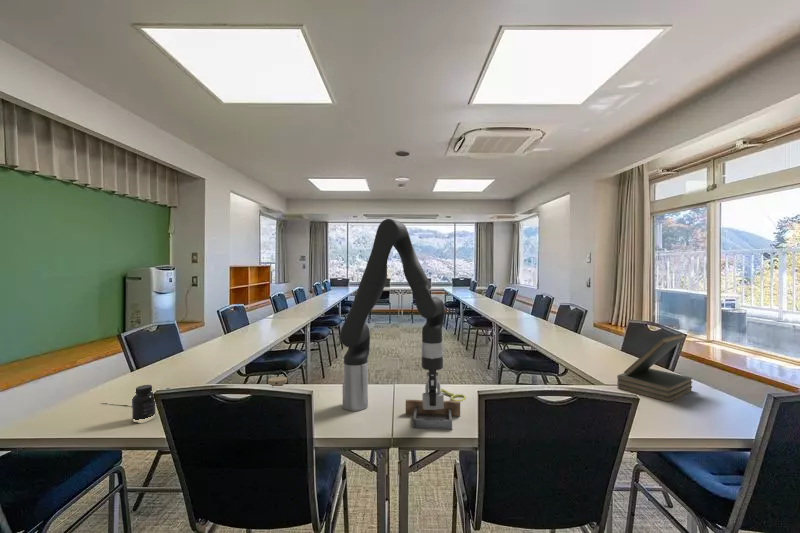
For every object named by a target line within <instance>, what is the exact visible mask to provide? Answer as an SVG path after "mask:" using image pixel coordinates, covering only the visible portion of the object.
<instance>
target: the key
mask: <svg viewBox="0 0 800 533" xmlns="http://www.w3.org/2000/svg"><path fill="white" fill-rule="evenodd" d="M440 392H442V393H444V394H446V395H447V396H449V397H450V400H449V401H460V402H464V401H465V400H466V399H467V398H466V397H467V396H466V395H464V394H461V393H459V394H455V393H454V392H453V393H452V392H450V391H448V390H447V389H445V388H440ZM463 397H464V398H463ZM455 398H461V399H455ZM463 400H464V401H463Z"/></svg>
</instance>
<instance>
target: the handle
mask: <svg viewBox="0 0 800 533" xmlns="http://www.w3.org/2000/svg"><path fill="white" fill-rule="evenodd" d="M267 383H268V385H270V386H272V387H273V386H283V387H284V385H285V384H287V383H288V377H286V376H274V377H269V378H268V380H267Z"/></svg>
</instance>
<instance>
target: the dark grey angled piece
mask: <svg viewBox="0 0 800 533" xmlns="http://www.w3.org/2000/svg"><path fill="white" fill-rule="evenodd" d="M685 338H687V336H686V335H685V334H684V333H678V334H674V335H670V336H666V337H661V338H660V340H658V341H657V342H656V343H655V344H654V345H653V346H651V347H650V349H648V350H647V351H646V352H645V353H644V354H642V355H641V356H640V357H639V358H638V359H637V360H636V361H634V362H633V364H631V365H630V366H629V367H628V368H627V369H625V370H624V371H623V372H622V373H620V374H617V389H619V390H623V391H627V392H631V393H634V394H638V395H642V396H645V397H649V398H652V399H656V400H660V401H664V402H666V403H671V402H672V401H673V400H676V399H678V398H680V397H683V396H684V395H686V394H688V393H689V394H690V393H691V392H692V388H693V386H692V384H693V381H692V379H693V377H692V376H691V377H690V376H687V375H682V374H677V373H674V372H669V371H664V370H659V369H654V368H651V367H652V366H654V365H655V364H656V363H657V362H658V361H659V360H661V359H662V358H664V357H665V355H667V353H669V352H670V351H671V350H673V349H674V348H675V347H676V346H677V345H678V344H680V343H681V342H682V341H683V340H684V339H685Z"/></svg>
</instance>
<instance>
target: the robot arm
mask: <svg viewBox="0 0 800 533" xmlns="http://www.w3.org/2000/svg"><path fill="white" fill-rule="evenodd" d="M393 248H394V249H395V250H396V252H397V253H398V255H399V258H400V260H401V263H402V270H403V274H404V277H405V279H406V281H407V283H408V286H409V288H410V289H411V292H412V295H413V299H414V303H415V306H416V309H417V311H418V313H419V315H420V316H422V318H424V319H426V321H425V324H424V325H423V326H422V330H421V368H422V369H423V370H426V371H427V372H426V379H427V381H428V388H429V397H430V406H436V394H437V393H436V392H437V387H438V384H437V381H439V380H438V379H439V372H438V371H440V370H442V369H443V368H444V346H443V332H442V331H443V326H444V320H445V314H446V307H445V304H444V302H443V300H442V299H441V298H439V297H436V296H434V297H432V294H431V292H430V290H431V288H432V285H431V282H430V281H429V279H428V276H427V275H426V273H425V271H424V269H423V267H422V265H421V263H420V261H419V259H418V256H417V253H416V252H415V248H414V246H413V243H412V240H411V237H410V234H409V231H408V228H407V227H406V225H405V224H404V223H403V222H401V221H398V220H396V219H393V218H392V219H391V218H386V219H383V220H382V221H381V222H380V223H379V225H378V226H377V229H376V233H375V237H374V241H373V244H372V247H371V252H370V255H369V257H368V260H367V264H366V267H365V269H364V272H363V274H362V277H361V279H360V282H359V284H358V288H357V291H356V293H355V296H354V299H353V302H352V305H351V308H350V309H349V313H348V314H347V317H346V318H345V320H344V322H343V325H342V327H341V329H340V333H339V338H340V341H341V343H342V345H343V346H344V347H347V351H346V353H345V354H344V356H343V383H342V409H345V410H347V411H352V412H354V411H355V412H356V411H362V410H365V409H367V408H368V406H369V398H368V397H369V389H368V388H369V383H368V381H369V378H368V375H369V374H368V373H369V372H368V366H369V365H368V364H369V363H368V362H369V360H368V358H369V355H370V346H371V345H370V344H371V343H370V342H371V339H370V338H371V332H370V328H369V325H368V324H367V323H366V321H367V318H368V316H369V314H370V312H371V311H372V310H373V309H374V307H375V306H376V305H377V304H378V302H379V300H380V299H381V296H382V294H383V292H384V289H385V286H386V284H387V279H388V260H389V256H390V253H391V251H392V249H393Z"/></svg>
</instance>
